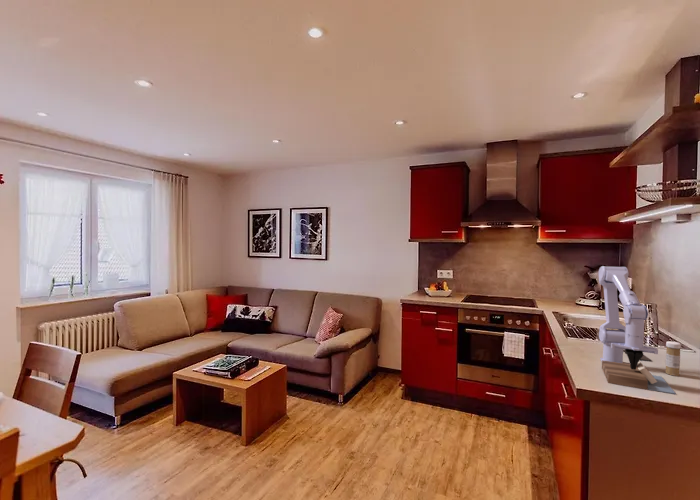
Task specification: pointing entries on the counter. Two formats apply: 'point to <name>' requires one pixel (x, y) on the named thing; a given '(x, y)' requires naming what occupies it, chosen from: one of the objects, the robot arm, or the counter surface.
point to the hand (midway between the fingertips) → (633, 368)
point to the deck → (623, 375)
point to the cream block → (646, 373)
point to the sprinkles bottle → (673, 358)
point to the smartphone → (643, 358)
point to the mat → (660, 385)
